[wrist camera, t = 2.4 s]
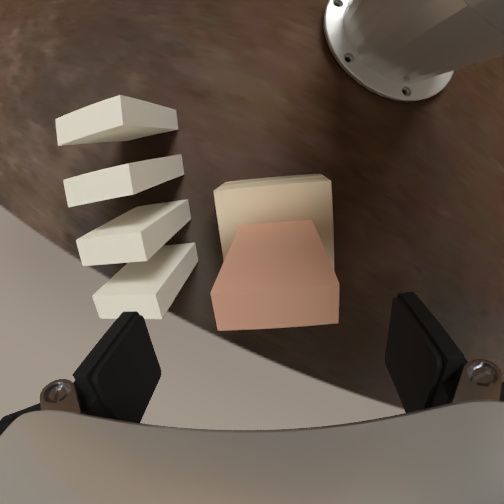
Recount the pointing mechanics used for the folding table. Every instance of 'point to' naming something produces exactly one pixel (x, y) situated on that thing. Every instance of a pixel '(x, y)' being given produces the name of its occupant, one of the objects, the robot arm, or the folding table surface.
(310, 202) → the stand
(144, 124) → the domino
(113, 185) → the domino
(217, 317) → the domino
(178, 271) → the domino
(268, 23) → the folding table surface
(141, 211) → the domino
